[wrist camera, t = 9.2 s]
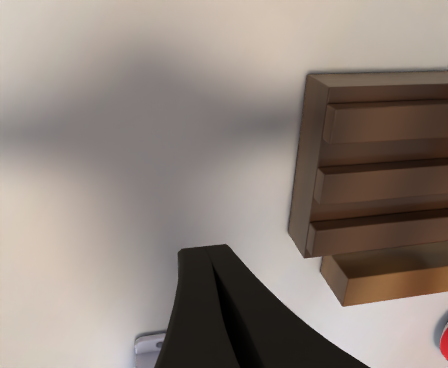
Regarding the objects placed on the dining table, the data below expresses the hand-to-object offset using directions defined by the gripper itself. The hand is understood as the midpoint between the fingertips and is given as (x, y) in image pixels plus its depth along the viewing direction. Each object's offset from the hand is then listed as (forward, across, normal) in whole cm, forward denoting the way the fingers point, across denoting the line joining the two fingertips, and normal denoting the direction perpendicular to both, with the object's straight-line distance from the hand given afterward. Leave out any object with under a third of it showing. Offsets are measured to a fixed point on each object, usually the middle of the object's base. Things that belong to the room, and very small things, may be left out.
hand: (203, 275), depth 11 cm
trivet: (+9, -11, +1) cm, 15 cm away
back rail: (+9, -19, +8) cm, 23 cm away
